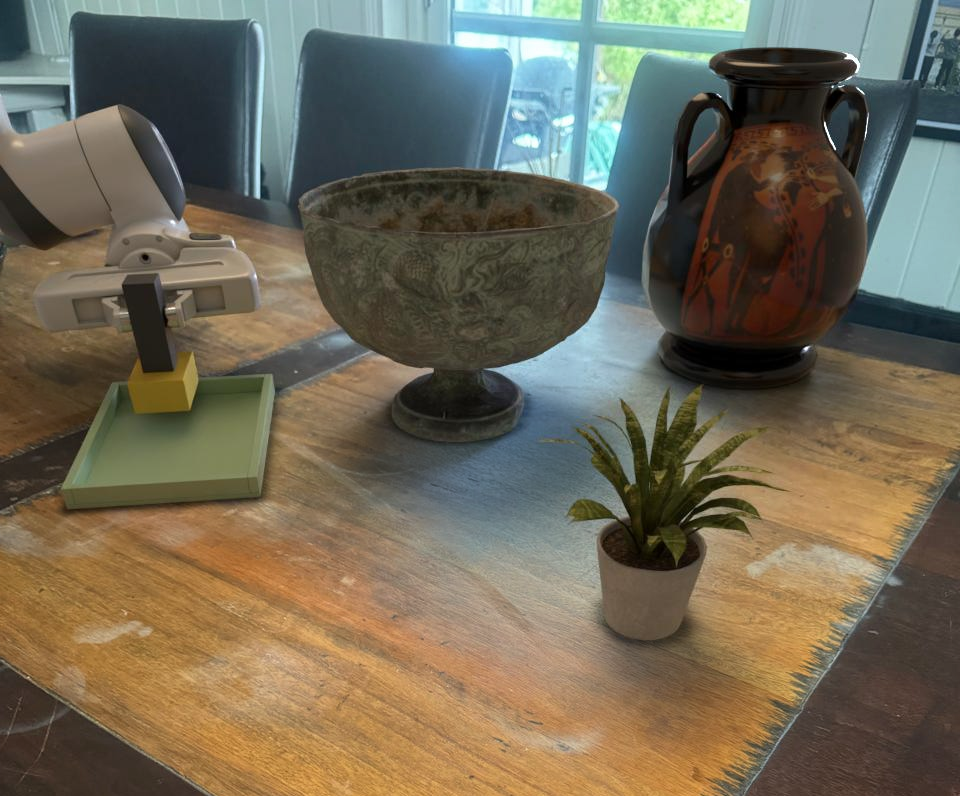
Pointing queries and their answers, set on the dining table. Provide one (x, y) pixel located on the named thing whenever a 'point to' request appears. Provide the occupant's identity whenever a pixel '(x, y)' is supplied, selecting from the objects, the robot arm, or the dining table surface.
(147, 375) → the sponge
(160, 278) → the robot arm
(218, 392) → the tray
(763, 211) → the amphora vase
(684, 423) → the house plant
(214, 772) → the dining table surface
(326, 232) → the decorative bowl
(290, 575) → the dining table surface
